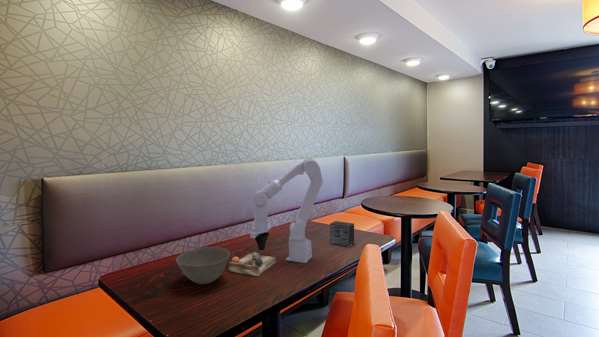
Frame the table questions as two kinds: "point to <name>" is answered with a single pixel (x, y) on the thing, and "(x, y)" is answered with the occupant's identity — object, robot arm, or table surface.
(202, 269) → the bowl
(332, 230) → the small box
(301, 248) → the robot arm
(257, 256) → the steel ball
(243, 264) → the bearing plate
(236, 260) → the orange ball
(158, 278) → the table surface
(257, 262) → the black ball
